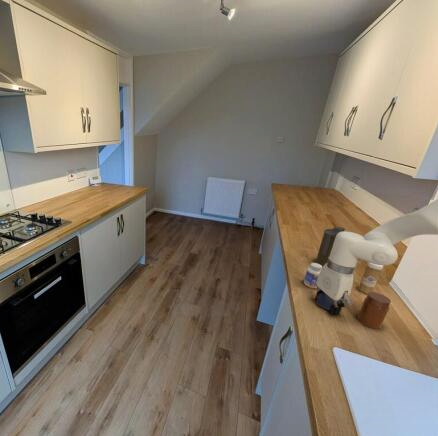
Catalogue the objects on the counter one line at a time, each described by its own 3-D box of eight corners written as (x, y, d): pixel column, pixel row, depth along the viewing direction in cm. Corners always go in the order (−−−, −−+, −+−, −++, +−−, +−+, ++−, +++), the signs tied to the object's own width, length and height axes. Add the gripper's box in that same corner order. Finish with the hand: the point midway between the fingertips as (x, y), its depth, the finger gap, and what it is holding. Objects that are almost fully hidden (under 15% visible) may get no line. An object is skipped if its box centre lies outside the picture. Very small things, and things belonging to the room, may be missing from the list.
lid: (321, 309, 86) (323, 303, 85) (312, 297, 92) (314, 291, 91) (342, 312, 85) (345, 306, 84) (332, 299, 91) (334, 293, 90)
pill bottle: (311, 289, 99) (317, 269, 96) (300, 282, 104) (305, 262, 100) (321, 287, 100) (327, 267, 97) (309, 280, 105) (315, 261, 102)
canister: (323, 258, 124) (334, 222, 117) (345, 268, 115) (358, 230, 108) (309, 261, 120) (319, 225, 113) (330, 272, 111) (343, 233, 104)
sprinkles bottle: (359, 292, 98) (371, 264, 93) (356, 286, 102) (366, 258, 97) (374, 295, 96) (386, 266, 91) (369, 289, 100) (381, 261, 95)
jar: (366, 314, 86) (376, 290, 82) (385, 327, 80) (397, 302, 77) (352, 316, 85) (362, 292, 81) (371, 330, 79) (382, 304, 75)
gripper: (312, 254, 91) (301, 292, 97) (351, 281, 75) (334, 325, 81) (331, 254, 91) (319, 292, 97) (373, 280, 75) (355, 324, 81)
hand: (326, 306), depth 89 cm, fingers closed on lid, 6 cm apart
